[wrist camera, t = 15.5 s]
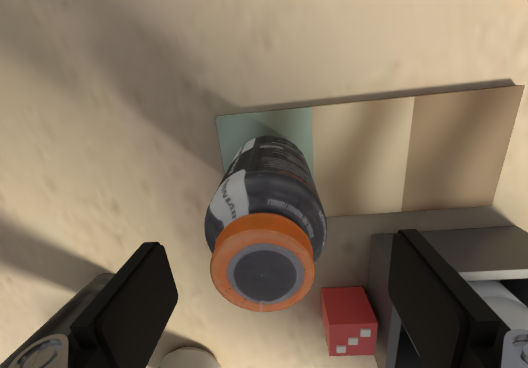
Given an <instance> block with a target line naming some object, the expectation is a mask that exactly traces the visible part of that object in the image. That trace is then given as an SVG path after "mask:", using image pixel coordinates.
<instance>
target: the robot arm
mask: <svg viewBox="0 0 528 368" xmlns="http://www.w3.org/2000/svg"><path fill="white" fill-rule="evenodd" d="M388 293H389V297H390V299H391V301H392V303H393V305H394V307H395V309H396V311H397V313H398V315H399V317H400V319H401V321H402V323H403V324H404V326H405V328H406V330H407V332H408V334H409V336H410V338H411V340H412V342H413V344H414V346H415V348H416V350H417V352H418V354H419V356H420V358H421V360H422V362H423V364H424V366H425V368H528V330H525V329H513V330H511V329H510V328H509V327H508V326H507V325H506V323H505V322H504V321H503V320H502V319H501V318H500V317H499V316H498V315H497V314H496V313H495V312H494V311H493V310H492V309H491V307H490V306H489V305H488V304H487V303H486V302H485V301H484V300H483V299H482V298H481V297H480V296H479V295H478V294H477V293H476V291H475V290H474V289H473V288H472V287H471V286H470V285H469V284H468V283H467V282H466V281H465V280H464V279H463V278H462V276H461V275H460V274H459V273H458V272H457V271H456V270H455V269H454V268H453V267H452V266H451V265H449V264H448V263H447V262H446V261H445V259H444V258H443V257H442V256H441V255H440V254H439V253H438V252H437V251H436V250H435V249H434V248H433V247H432V246H431V244H430V243H429V242H428V241H427V240H426V239H425V238H424V237H423V236H422V235H421V234H420V233H419V232H418V231H417V230H416V229H406V230H399V231H398V233H397V234H394V235H393V240H392V250H391V260H390V270H389V280H388ZM177 301H178V292H177V289H176V285H175V282H174V278H173V275H172V272H171V268H170V265H169V262H168V258H167V255H166V251H165V248H164V246H163V245H160V243H159V242H145V243H143V244H142V245H141V246H140V247H139V248H138V249H137V250H136V252H135V253H134V254H133V255H132V256H131V257H130V258H129V260H128V261H127V262H126V263H125V264H124V265H123V266H122V267H121V269H120V270H119V271H118V272H117V273H116V274H115V275H114V277H113V278H112V279H111V280H110V281H109V282H108V283H107V285H106V286H105V287H104V288H103V289H102V290H101V291H100V292H99V294H98V295H97V296H96V297H95V298H94V299H93V300H92V302H91V303H90V304H89V305H88V306H87V307H86V308H85V310H84V311H83V312H82V313H81V314H80V315H79V316H78V317H77V319H76V320H75V321H74V322H73V323H72V324H71V325H70V329H71V333H70V334H69V335H68V336H65V335H64V334H55V335H50V336H47V337H45V338H42V339H40V340H38V341H37V342H35V343H33V344H31V345H30V346H29V347H27V348H26V349H25V350H23V351H22V352H21V353H20V354H19V355H18V356H17V357H16V358H15V359H14V360H13V361H12V363H11V364H10V365H9V367H8V368H146V366H147V364H148V362H149V359H150V357H151V355H152V353H153V351H154V349H155V347H156V345H157V343H158V341H159V339H160V337H161V335H162V333H163V330H164V328H165V326H166V324H167V322H168V320H169V318H170V316H171V314H172V312H173V310H174V308H175V306H176V304H177Z"/></svg>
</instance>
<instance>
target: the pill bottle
mask: <svg viewBox="0 0 528 368" xmlns="http://www.w3.org/2000/svg"><path fill="white" fill-rule="evenodd" d="M205 236H206V241H207V243H208V246H209V248H210V251H211V253H212V254H213V255H212V258H211V263H210V273H211V278H212V281H213V283H214V285H215V287H216V289H217V290H218V291H219V293H220V294H221V295H222V296H223V297H224V298H226V299H227V300H228V301H230V302H231V303H233V304H235V305H237V306H239V307H241V308H244V309H248V310H251V311H257V312H271V311H278V310H282V309H285V308H288V307H290V306H292V305H294V304H296V303H297V302H298V301H300V300H301V299H302V298H303V297H304V296H305V295H306V294H307V293H308V291H309V290H310V288H311V286H312V284H313V280H314V276H315V268H314V262H315V261H316V260H317V259H318V257H319V255H320V254H321V252H322V250H323V247H324V244H325V241H326V236H327V222H326V217H325V213H324V210H323V207H322V204H321V201H320V198H319V195H318V193H317V190H316V186H315V184H314V181H313V178H312V175H311V172H310V169H309V167H308V164H307V162H306V159H305V157H304V155H303V153H302V152H301V151H300V150H299V148H298V147H297V146H296V145H295V144H293V143H292V142H290V141H289V140H287V139H284V138H281V137H278V136H260V137H256V138H254V139H252V140H250V141H248V142H247V143H245V144H244V145H243V146H242V147H241V148H240V149H239V151H238V152H237V153H236V155H235V157H234V159H233V161H232V163H231V165H230V166H229V168H228V170H227V172H226V174H225V176H224V178H223V180H222V182H221V183H220V185H219V187H218V189H217V191H216V193H215V195H214V197H213V199H212V200H211V203H210V205H209V207H208V209H207V213H206V217H205Z"/></svg>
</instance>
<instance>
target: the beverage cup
mask: <svg viewBox="0 0 528 368" xmlns="http://www.w3.org/2000/svg"><path fill="white" fill-rule="evenodd" d="M113 277H114V275H113V274H102V275H99V276H97V277H96V278H95V279H94V280H93V281H92V282H91V283H90V284H88V285H87V286H86V287H84V288H83V289H82V290H81V291H80V292H79V293H77V294H76V295H75V296H74V297H73V298H72V299H71V300H70V301H69V302H68V303H67V304H66V305H64V306H63V307H62V308H61V309H60V310H59V311H58V312H57V313H56V314H55V315H54V316H53V317H52V318H50V319H49V320H48V321H47V322H46V323H45V324H44V325H43V326H42V327H41V328H40V329H39V330H37V331H36V332H35V333H34V334H33V335H32V336H31V337H30V338H29V339H28V340H27V341H26V342H24V343H23V344H22V345H21V346H20V347H19V348H18V349H17V350H16V351H15V352H14V353H13V354H11V355H10V356H9V357H8V358H7V359H6V360H5V361H4V362H3V363H2V364H1V365H0V368H8V367H9V365H10V364H11V363H12V361H13V360H14V359H15V358H16V357H17V356H18V355H19V354H20V353H21V352H22V351H23V350H25V349H26V348H27V347H29V346H30V345H31V344H33V343H35V342H37V341H38V340H40V339H42V338H45V337H47V336H50V335H55V334H64V335H65V336H68V335H69V334H70V333H71V329H70V325H71V324H72V323H73V322H74V321H75V320H76V319H77V317H78V316H79V315H80V314H81V313H82V312H83V311H84V310H85V308H86V307H87V306H88V305H89V304H90V303H91V302H92V300H93V299H94V298H95V297H96V296H97V295H98V294H99V292H100V291H101V290H102V289H103V288H104V287H105V286H106V285H107V283H108V282H109V281H110V280H111V279H112V278H113Z"/></svg>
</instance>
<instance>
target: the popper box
mask: <svg viewBox="0 0 528 368" xmlns="http://www.w3.org/2000/svg"><path fill="white" fill-rule="evenodd" d="M419 233H420V234H421V235H422V236H423V237H424V238H425V239H426V240H427V241H428V242H429V243H430V244H431V246H432V247H433V248H434V249H435V250H436V251H437V252H438V253H439V254H440V255H441V256H442V257H443V258H444V259H445V261H446V262H447V263H448V264H449V265H451V266H452V267H453V268H454V269H455V270H456V271H457V272H458V273H459V274H460V275H461V276H462V278H463V279H464V280H465V281H479V280H497V281H499V282H500V283H501V284H502V285H503V286H504V287H505V288H506V289H507V290H509V291H510V292H511V293H512V294H513V295H514V296H515V297H516V298H517V299H518V300H520V301H521V302H522V303H523V304H524V305H525V306H526V307H527V308H528V233H527V232H526V231H524V230H522V229H521V228H519V227H517V226H506V227H490V228H474V229H458V230H441V231H425V232H419ZM394 234H397V233H393V234H376V235H371V248H370V262H369V276H368V289H367V296H366V294H365V291H364V289H363V287H341V288H321V297H322V320H323V325H324V330H325V335H326V341H327V346H328V351H329V356H345V355H374V356H375V359H376V362H377V365H378V368H425V366H424V364H423V362H422V360H421V358H420V356H419V355H418V353H417V351H416V349H415V347H414V345H413V343H412V341H411V340H410V338H409V336H408V334H407V332H406V330H405V328H404V326H403V324H402V321H401V319H400V317H399V315H398V313H397V311H396V309H395V307H394V305H393V303H392V301H391V299H390V297H389V293H388V280H389V270H390V260H391V250H392V240H393V235H394Z"/></svg>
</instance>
